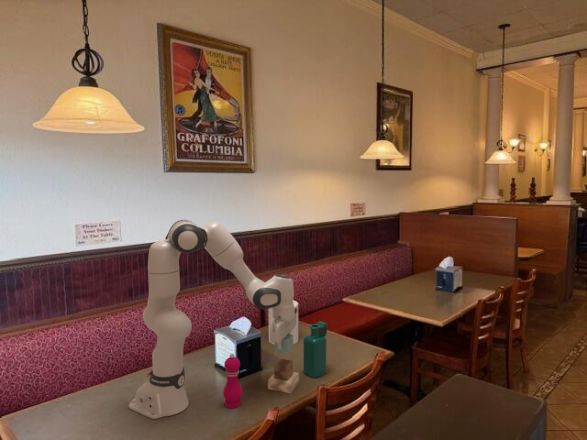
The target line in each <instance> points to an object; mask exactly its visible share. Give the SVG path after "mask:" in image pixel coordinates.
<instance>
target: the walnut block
mask: <svg viewBox="0 0 587 440" xmlns="http://www.w3.org/2000/svg"><path fill="white" fill-rule="evenodd" d="M273 368H274V369H273V374H274V378H275V379H280V380H286V381H288V380H289V379H290V377H291V376H292V375H293V372H294V361H293V360H291V359H286V358H285V359H283V358H279V359H277V361H276V362H275V363H274V364H273Z"/></svg>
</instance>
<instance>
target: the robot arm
mask: <svg viewBox="0 0 587 440" xmlns="http://www.w3.org/2000/svg"><path fill="white" fill-rule="evenodd" d="M164 238H165V239H163V240H162V239H161V240H158V241H154V242H153V243H152V244H151V245H150V247H149V252H148V258H147V259H148V260H147V276H148V277H147V279H148V298H147V305H146V307H145V308H144V310H143V313H142V320H143V322H144V324H145V325H146V327H147V328H148V329H149V330H150V331H152V332H154V333H155V335H156V336H157V337H156V338H157V339H156V345H155V348H154V349H153V350H152V353H151V354H152V355H151V357H152V359H151V360H152V369H151V371H150V372H148V373H146V375H147V376H146V377H147V378H148V377H149V379H147V381H145V382H144V383H143V384H141V385H140V386H139V388H138V389H136V392H135V397H134V398H133V399H132V400H131V401H130V402H129V404H128V408H129V410H132V411H134V412H136V413H138V414H141V415H143V416H145V417H147V418H149V419H152V420H157V419H161V418H164V417H168V416H169V417H171V416H173V415H177V414H180V413H181V412H183V411H185V410H186V409H187V408H188V406H189V403H190V401H189V399H188V395H187V391H186V386H185V378H186V377H185V376H186V375H185V367H184V345H185V342H186V341H185V340H186V338H188V336H190V334H191V332H192V328H193V327H192V321H191V319H190V318H189V316H188V315H187V314H186V313H185V312H184V311H181V310H180V309H178V308H177V307H176V298H177V295H178V294H179V292H180V289H181V278H180V277H181V275H180V256H181V254H190V253H191V254H192V253H195V252H197V251H199V250H201V249H205V250H206V252H208V254H209V255H210V257H212V258H213V260H214V261H215V263H217V264H218V265H219V266H220V267H222V268H223V269H224V270H228V271H230V272H231V273H232V274H233V275H234V276H235V278H236V279H237V280H238V282H239V283H240V284H241V286H242V289H243V292H244V296H245V297H246V298H247V300H249V301H250V302H251V303H252V305H254V307H255V308H257V309H259V310H268V309H269V308H273V318H274V319H275V320H274V322H273V323H272V325H271V329H270V341H271V342H272V343H277V348H278V349H279V350H281V349H282V348H283V344H282V339H283V338H285V337H286V336H287V335H288V334H291V331H292V330H293V329H294V328H295V326H296V313H297V307H294V304H293V300H294V297H295V289H294V281H293V279H292V277H291V276H289V275H287V274H282V273H276V274H274V275H273V276H272V277H271V278H270V279H268V280H266V281H265V280H264V279H261V278H260V277H258V276H255V275H254V273H253V272H252V270H251V269H250V268H249V266H247V265H246V263H245V260H244V251H243V249H242V247H241V246H240V245H239V243H238V241H237V239H235V237H234V236H233V235H232V234H231V233H230V231H228V230H227V228H226V227H224V226H223V225H222V224H220V223H219V222H218V221H210V222H207V223H205V224H204V225H202V226H198V225H197V224H195V223H193V222H192V221H191V220H187V219H180V220H177V221H175V222H174V223H173V224H172V225H171V226H170V229H169V230H168V233H167V234H166V236H165V237H164ZM272 343H271V344H272Z"/></svg>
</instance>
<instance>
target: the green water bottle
mask: <svg viewBox="0 0 587 440" xmlns="http://www.w3.org/2000/svg"><path fill="white" fill-rule="evenodd" d="M308 328H309V329H310V333H309V334H306V335H305V336H304V337H303V341H302V343H303V346H302V351H303V353H302V354H303V356H302V357H303V361H302V362H303V363H302V365H303V369H302V370H303V373H304V374H305V375H307V376H309V377H311V378H314V379H315V378H316V379H317V378H319V377H321V376H324V375H325V374H327V337H326V336H327V334H328V323H326V322H323V321H320V320H319V321H317V322H316V323H314V324H313V323H312V324H310V325H308Z"/></svg>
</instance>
